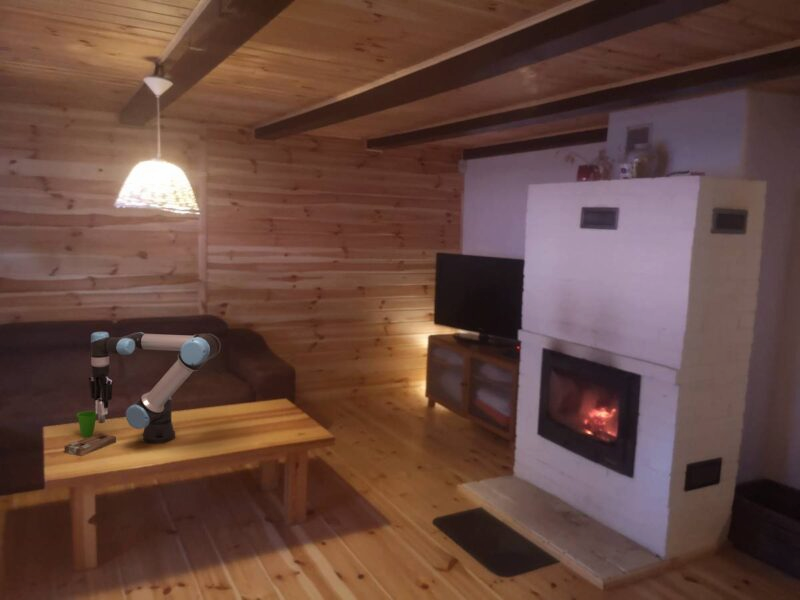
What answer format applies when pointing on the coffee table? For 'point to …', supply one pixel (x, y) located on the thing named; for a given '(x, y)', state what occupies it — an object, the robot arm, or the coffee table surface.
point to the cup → (87, 423)
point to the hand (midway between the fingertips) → (101, 413)
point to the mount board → (90, 444)
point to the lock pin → (100, 411)
